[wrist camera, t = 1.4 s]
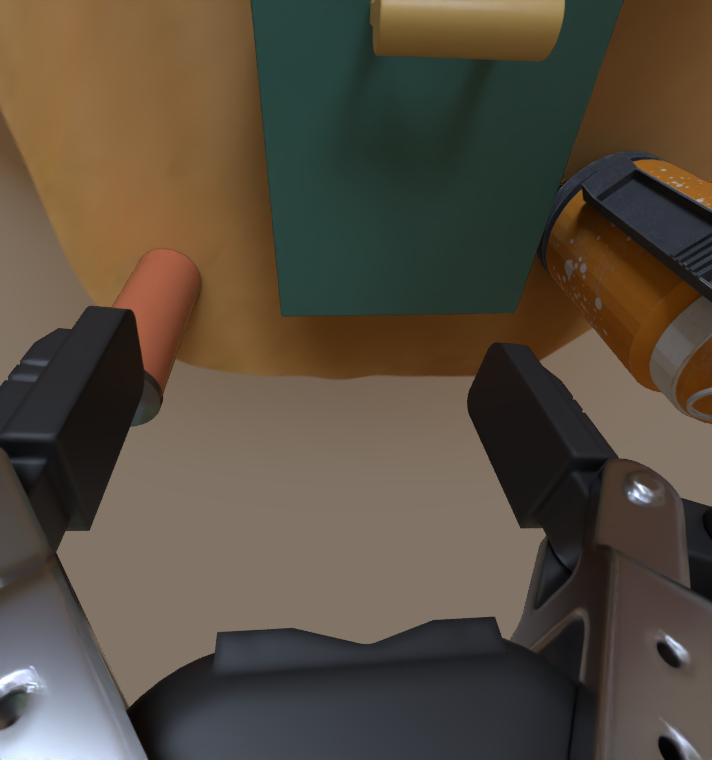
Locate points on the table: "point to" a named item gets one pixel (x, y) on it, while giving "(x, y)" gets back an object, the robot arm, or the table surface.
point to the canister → (640, 269)
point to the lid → (419, 145)
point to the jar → (159, 318)
